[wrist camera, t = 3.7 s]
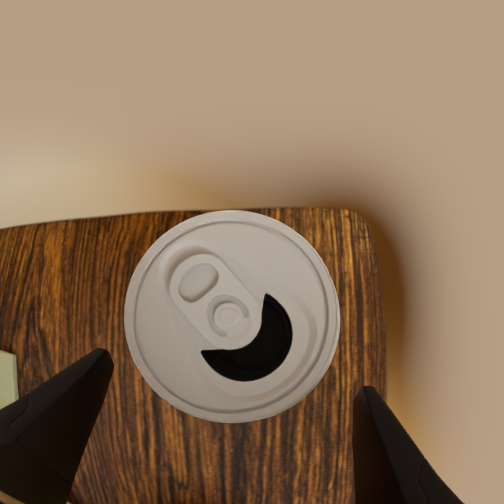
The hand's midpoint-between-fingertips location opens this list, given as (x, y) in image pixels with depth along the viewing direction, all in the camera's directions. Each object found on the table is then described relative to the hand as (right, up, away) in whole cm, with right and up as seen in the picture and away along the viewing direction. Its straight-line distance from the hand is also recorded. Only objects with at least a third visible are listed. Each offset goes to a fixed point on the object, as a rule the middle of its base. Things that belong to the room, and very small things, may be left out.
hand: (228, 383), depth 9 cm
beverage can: (+1, -1, +10) cm, 10 cm away
